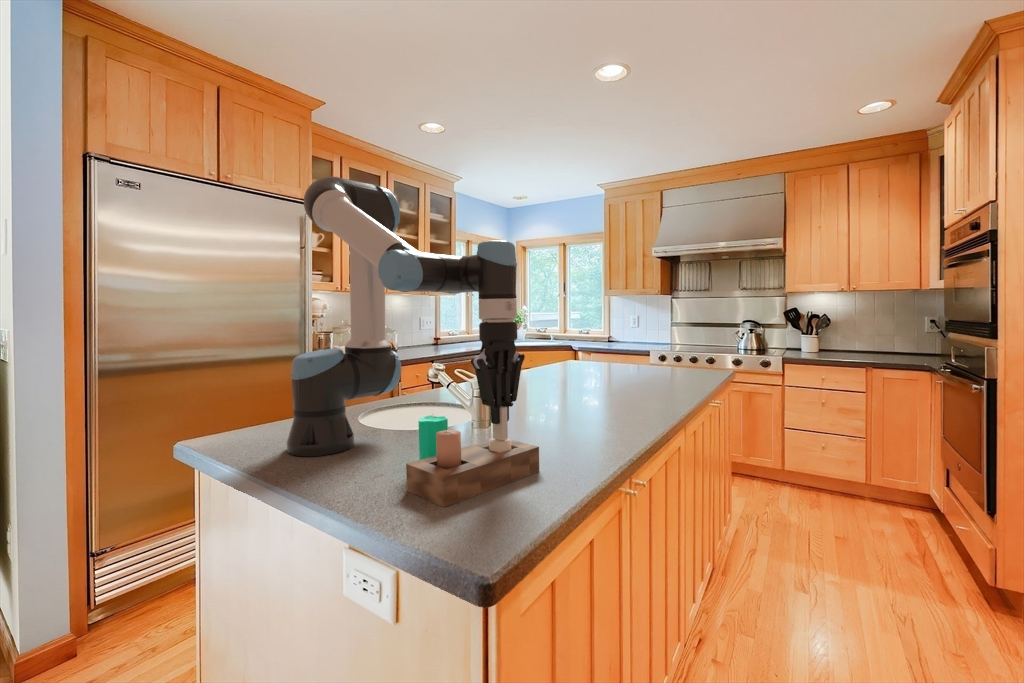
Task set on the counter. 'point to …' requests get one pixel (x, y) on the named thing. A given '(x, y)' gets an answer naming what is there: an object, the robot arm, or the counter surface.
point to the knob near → (448, 448)
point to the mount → (471, 472)
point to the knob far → (499, 445)
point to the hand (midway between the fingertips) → (500, 438)
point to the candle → (430, 434)
